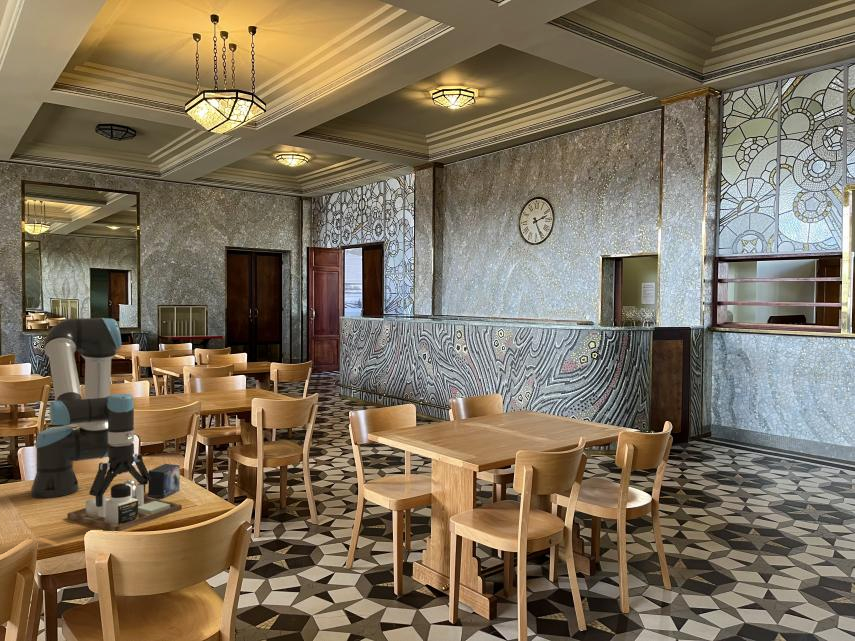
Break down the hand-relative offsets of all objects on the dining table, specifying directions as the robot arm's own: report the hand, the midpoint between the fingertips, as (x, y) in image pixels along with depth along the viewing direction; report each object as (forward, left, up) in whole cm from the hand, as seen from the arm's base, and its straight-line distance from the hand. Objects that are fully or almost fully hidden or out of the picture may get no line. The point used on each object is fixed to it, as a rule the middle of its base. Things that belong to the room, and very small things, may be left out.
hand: (121, 510), depth 208 cm
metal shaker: (-12, +12, -4) cm, 17 cm away
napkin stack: (0, +12, -4) cm, 12 cm away
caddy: (-6, +6, -5) cm, 10 cm away
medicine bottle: (0, 0, -4) cm, 4 cm away
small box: (-13, +27, -5) cm, 30 cm away
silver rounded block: (-12, 0, -4) cm, 12 cm away
